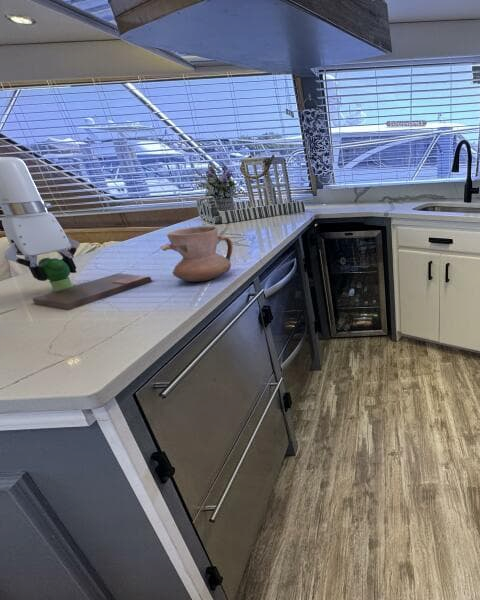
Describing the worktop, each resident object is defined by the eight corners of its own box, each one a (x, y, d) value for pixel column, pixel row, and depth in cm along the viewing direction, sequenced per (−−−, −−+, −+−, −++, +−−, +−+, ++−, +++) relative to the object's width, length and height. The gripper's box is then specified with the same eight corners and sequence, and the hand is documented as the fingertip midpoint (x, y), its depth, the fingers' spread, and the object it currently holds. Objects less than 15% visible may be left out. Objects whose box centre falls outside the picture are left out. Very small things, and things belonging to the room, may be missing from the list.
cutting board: (69, 309, 77) (65, 303, 76) (34, 303, 81) (31, 297, 80) (152, 281, 94) (150, 275, 93) (120, 277, 98) (118, 272, 98)
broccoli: (58, 294, 87) (42, 262, 83) (42, 291, 89) (26, 260, 86) (84, 286, 92) (70, 256, 88) (69, 284, 94) (54, 254, 91)
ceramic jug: (179, 291, 85) (162, 238, 79) (167, 279, 94) (150, 231, 89) (248, 274, 96) (237, 226, 91) (231, 265, 106) (219, 222, 100)
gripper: (58, 205, 91) (85, 266, 98) (-33, 214, 76) (7, 286, 83) (74, 205, 88) (101, 267, 95) (-16, 215, 73) (24, 288, 80)
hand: (57, 275), depth 89 cm, fingers closed on broccoli, 5 cm apart
